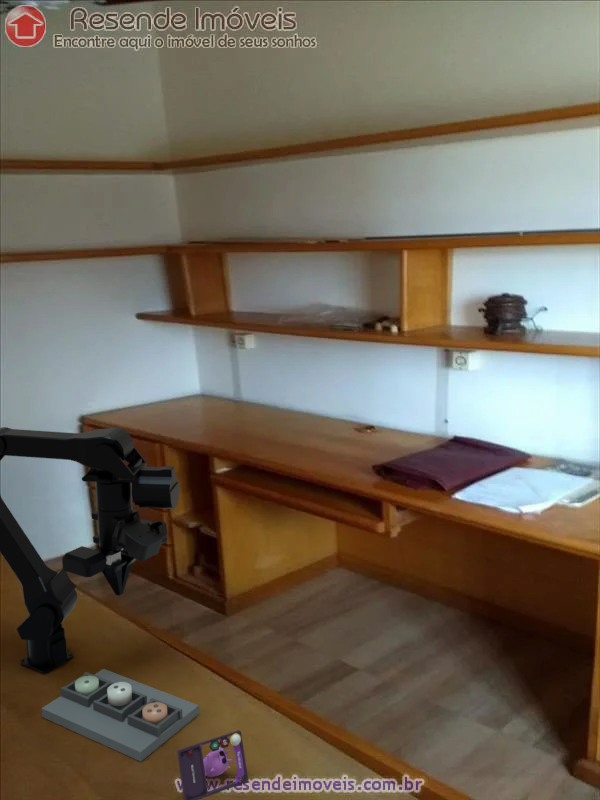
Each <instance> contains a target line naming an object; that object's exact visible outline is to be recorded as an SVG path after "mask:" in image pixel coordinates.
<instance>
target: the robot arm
mask: <svg viewBox="0 0 600 800" xmlns="http://www.w3.org/2000/svg"><path fill="white" fill-rule="evenodd" d="M6 456H8V457H22V458H36V459H37V458H38V459H51V460H52V459H53V460H66V461H67V460H68V461H71V462H72V461H73V462H76V463H77V464H79V465H82V466H84V467H86V468H89V470H88V471H87V472H86V474H84V475H83V476H82V477H81V481H82V482H87V483H89V482H90V483H91V482H92V483H93V482H94V483H95V500H96V503H95V504H96V511H93V512H91V520H95V521H97V534H96V535H94V536H92V542H93V543H94V544H98V545H99V546H98V547H96V548H94V549H93V548H90V547H86V546H82V545H81V546H79V547H77V548H75V549H73V550H70V551H68V552H66V553H64V555H63V556H62V560H61V561H62V568H61V569H60V570H59V571H55V570H54V569H51V568H50V567H48V566H47V565H46V563H45V562H44V561H43V558H42V556H41V555H40V554H39V553H38V551H37V549H36V548H35V546H34V545H33V544H32V542H31V541H30V539H29V537H28V536H27V534H26V533H25V532H24V530H23V528H22V527H21V525H20V524H19V523H18V521H17V519H16V517H14V515H13V513H12V512H11V510H10V509H9V507H8V506H7V505H6V502H4V500H3V498H2V495H1V494H0V554H1V556H2V557H3V559H4V560H5V562H6V563H7V564H8V566H9V568H10V569H11V570H12V572H13V574H14V575H15V577H16V578H17V579H18V581H19V582H20V585H21V588H22V595H23V596H22V597H23V602H24V603H23V604H24V605H25V608H26V610H27V612H28V616H26V618H25V619H24V620H23V621H22V622H21V624H19V625H18V627H16V631H17V633H18V635H19V637H20V640H24V641H25V645H26V647H25V648H26V657H23V659H20V661H19V664H20V665H22V666H24V667H26V668H29V669H30V670H34V671H36V672H37V673H38V672H39V673H40V674H48V673H50V672H52V671H53V670H56V669H57V668H58V667H60V666H61V665H62V666H63V664H65V663H67V662H68V661H70V660H72V659H73V658H74V654H73V653H71V652H69V651H68V649H67V647H68V646H67V639H66V635H65V634H66V633H65V628H64V627H63V622H64V621H65V620H66V618H67V617H68V616H69V615H70V614H71V612H72V610H73V609H74V608H75V606H76V604H77V601H78V593H77V591H76V589H77V586H78V585H76V584H75V583H74V582H73V581H72V580H71V579H70V577H69V575H68V573H71V574H73V575H78V576H80V577H84V578H91V577H93V576H96V575H98V574H101V573H102V575H103V576H104V578H105V580H106V581H107V583H108V584H109V586H110V588H111V589H112V591H113V593H114V594H115V595H116V596H119V597H120V596H121V595H124V591H125V588H126V586H127V582H128V580H129V579H128V578H129V574H130V573H131V569H132V567H133V564H134V563H135V561H138V562H145V561H147V560H148V559H149V558H151V557H153V556H157V555H158V554H159V553H160V548H161V545H163V544H164V543H165V544H166V543H167V541H168V537H167V536H168V530H167V522H165V521H163V520H162V519H158V520H156V521H152V520H147V519H140V517H141V516H140V513H139V510H137V509H133V502H134V505H135V506H138V507H139V508H141V509H166V510H168V509H173V510H174V509H176V508H177V506H178V501H179V498H180V482H179V481H178V476H177V473H175V466H173V465H166V466H165V465H164V466H147V465H148V462H147V460H146V459H145V458H144V457H143V455H142V454H141V453H140V451H138V448H136V446H135V445H134V441H133V438H132V436H131V435H130V434H129V432H128V431H127V430H126V429H124V428H122V427H109V428H99V429H98V428H97V429H95V430H87V431H84V432H63V431H62V432H61V431H47V430H33V429H32V430H31V429H16V428H10V427H5V426H4V427H3V426H2V427H0V462H1V461H2V460H3V459H4V457H6ZM125 461H126V462H127V464H126V462H125ZM67 572H68V573H67Z"/></svg>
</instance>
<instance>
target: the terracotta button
mask: <svg viewBox="0 0 600 800" xmlns="http://www.w3.org/2000/svg"><path fill="white" fill-rule="evenodd" d="M142 713H143V720H145V721H147V722H150V723H152V724H154V725H157V724H159V723H160V722H161V721H162V720H164V719H165V718H166V717H167V706H166V705H165V704H163V703H160V702H154V703H150V704H147V705H146V706H145V707H144V708H143V710H142Z"/></svg>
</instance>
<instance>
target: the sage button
mask: <svg viewBox="0 0 600 800" xmlns="http://www.w3.org/2000/svg"><path fill="white" fill-rule="evenodd" d="M80 677H81V676H80ZM78 678H79V677H78ZM78 678H76V679H77V680H76V679H75V680H76V682H75V692H77V693H80V694H82V695H85V696H88V695H89V694H91V693H92V692H94V691H95V690H97V689H98V688H99V680H98V678H97V677H95V676H84V677H81V678H79V679H78Z"/></svg>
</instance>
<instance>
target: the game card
mask: <svg viewBox="0 0 600 800" xmlns="http://www.w3.org/2000/svg"><path fill="white" fill-rule="evenodd" d="M229 737H230V739H229ZM208 744H210V745H209V747H208V748H209V749H210V750H211V751H210V752H209V753H208V754H206V755H205V757H203V750H202V746H204V745H208ZM230 744H231V745H232V747H233V751H234V756H235V761H236V763H235V764H236V770H237V775H236V776H235V780H234V782H231V783H228V784H225V785H223V786H220V787H216V788H214V789H210V790H209V789H208V784H207V777H209V778H212V777H219V775H222V774H224V772H225V771H227V770H228V768H231V766H229V762H234V759H233V758H229V756H228V753H229V752H230V751H231V749H228V750H224V749H225V748H228V747H229V746H230ZM176 753H177V755H176V756H177V760H178V767H179V774H180V780H181V789H182V795H183V800H201V799H202V798H203V799H204V798H205V797H208V796H212V795H215V794H217V793H220V792H222V791H226V790H228V789H230V788H234V787H236V786H239V785H242V784H245V783H247V782H248V781H249V774H248V769H247V764H246V756H245V749H244V742H243V736H242V731H241V730H235V731H233V732H229V733H226V734H223V735H220V736H217V737H212V738H210V739H207V740H204V741H200V742H198V743H194V744H192V745H188V746H185V747H183V748H180V749H177V750H176ZM241 777H243V778H242V779H241ZM208 790H209V791H208Z"/></svg>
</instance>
